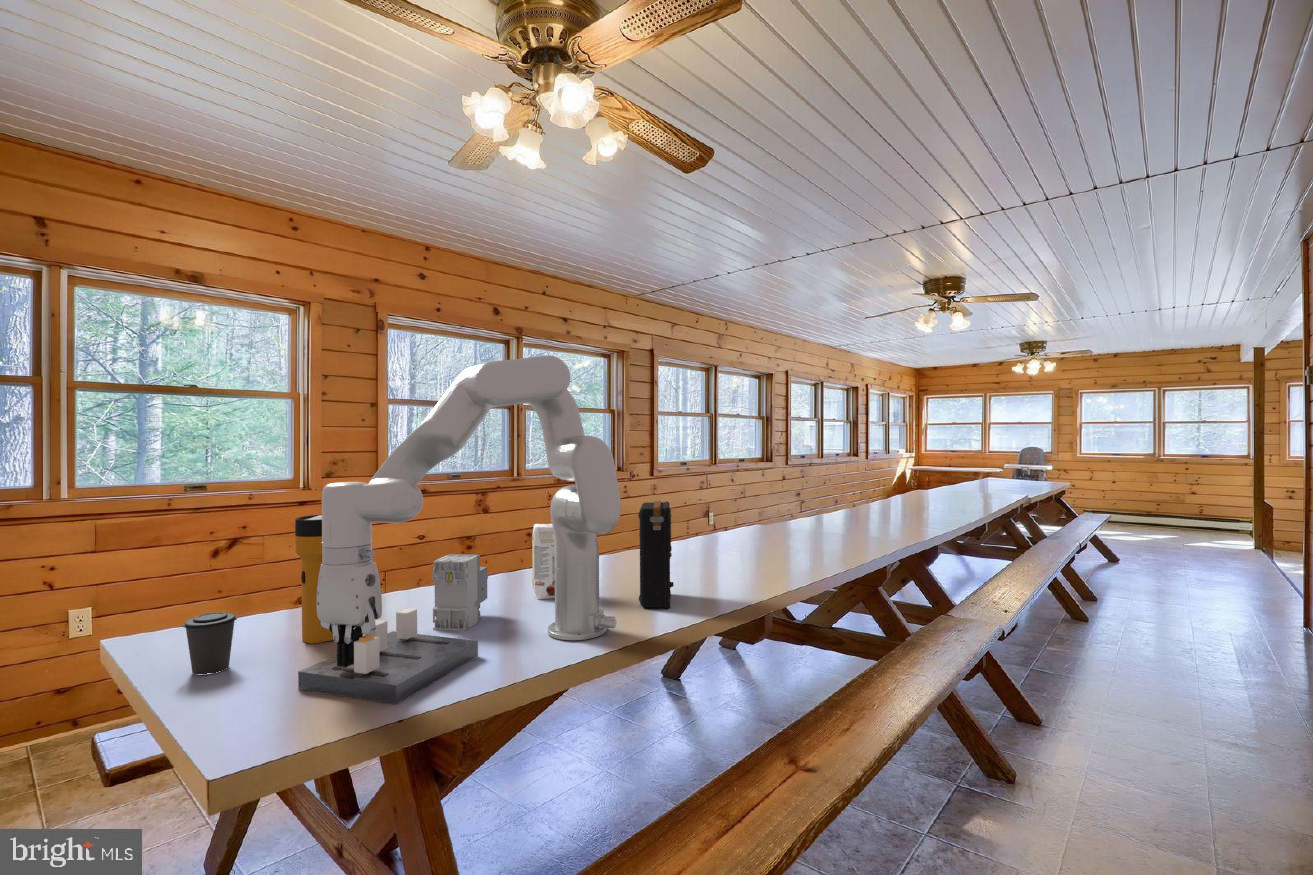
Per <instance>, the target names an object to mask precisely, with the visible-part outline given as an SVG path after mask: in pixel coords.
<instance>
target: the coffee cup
mask: <svg viewBox="0 0 1313 875" xmlns="http://www.w3.org/2000/svg"><path fill="white" fill-rule="evenodd" d="M237 619H238V616H237V615H236V614H235V613H231V612H223V611H221V612H205V613H202V614H200V615H198V616H195V617H192V618H190V619H187V620H185V621H184V623H183V624H182V627H183V628H184V629H185V631H186V632H185V633H186V637H187V638H186V639H187V644H188V651H189V653H188V654H189V658H190V659H189V660H190V665H191V671H192V674H193V673H194V674H207V673H215V674H217V673H216V672H218V673H220V672H219V671H221V672H223V671H222V670H224V669H226V668H227V669H229V666H230V661H231V652H232V645H233V637H234V627H235V622H236V620H237ZM227 669H226V670H227ZM224 671H225V670H224Z"/></svg>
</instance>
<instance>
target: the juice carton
mask: <svg viewBox="0 0 1313 875" xmlns="http://www.w3.org/2000/svg"><path fill="white" fill-rule="evenodd" d="M531 539H532V540H531V542H532V545H531V546H532V548H531V549H532V550H531V551H532V552H531V553H532V556H531V557H532V559H531V561H532V564H531V565H532V568H531V569H532V573H531V574H532V588H533V590H534V594H535V596H536V598H537V600H547V599H555V544H554V533H553V527H552V523H547V524H546V523H535V524H533V529H532V536H531Z"/></svg>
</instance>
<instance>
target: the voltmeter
mask: <svg viewBox="0 0 1313 875" xmlns="http://www.w3.org/2000/svg"><path fill="white" fill-rule="evenodd" d="M639 508H640V509H639V511H638V515H637V516H638V518H639V519H638V520H639V596H638V602H639V604H640V606H641V607H642V608H645V609H647V608H649V609H651V608H653V609H654V608H655V609H657V608H658V609H659V608H662V609H663V608H664V609H666V610H669V609H670V608H671V598H672V597H671V596H672V592H671V591H672V590H671V588H674V586H675V585H674V582H673V581H671V557H672V556H673V554H672V550H673V548H672V509H671V508H670V502H669V501H664V502H662V501H661V500H654V501H653V502H643V503H642V504H641V506H640V507H639Z"/></svg>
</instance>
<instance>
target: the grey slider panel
mask: <svg viewBox="0 0 1313 875" xmlns="http://www.w3.org/2000/svg"><path fill="white" fill-rule="evenodd" d="M387 636H388V648H387V649H385V650H383V651H380V652H379V665H380V667H379V668H377V669H375V670H373V671H371V672H369V673H367V674H363V673H356V672H354V664H352V665H350V666H348V667H342V666H341V667H340V666H337V654H336V655H334V656H331V657H329V658H326V659H324V660H322V661H319V662H318V663H315V664H312V665H310V666H307V667H305V668H303V669H300V670H299V671H298V672H297V674H298V678H297V680H298V681H297V682H298V683H297V684H298V685H297V686H298V687H297V689H298V690H300V689H301V690H300V691H308V692H313V691H315V692H314V693H319V694H327V695H332V696H339V697H344V696H346V697H345V698H351V697H352V699H357V698H358V699H359V700H364V701H370V702H377V703H382V704H390V705H398V704H400V703H401V702H403V701H405V700H406V699H408V698H410V697H411V696H413V695H415V694H416V693H418V692H420V691H422V690H424V689H425V688H427V687H428V686H430V685H432V684H433V683H436V681H439V680H441V679H443V677H446V676H448V675H449V674H450V673H452V672H454V671H456V670H457V669H459V668H461V667H462V666H465V665H466V664H467V663H469V662H471V661H473V660H474V659H477V658H478V657H479V641H478V640H474V639H465V638H456V637H447V636H439V635H431V634H419V633H417V635H415V636H413V637H411V638H409V639H398V638H396V630H395V631H394V630H393V631H390V632H387Z"/></svg>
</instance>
